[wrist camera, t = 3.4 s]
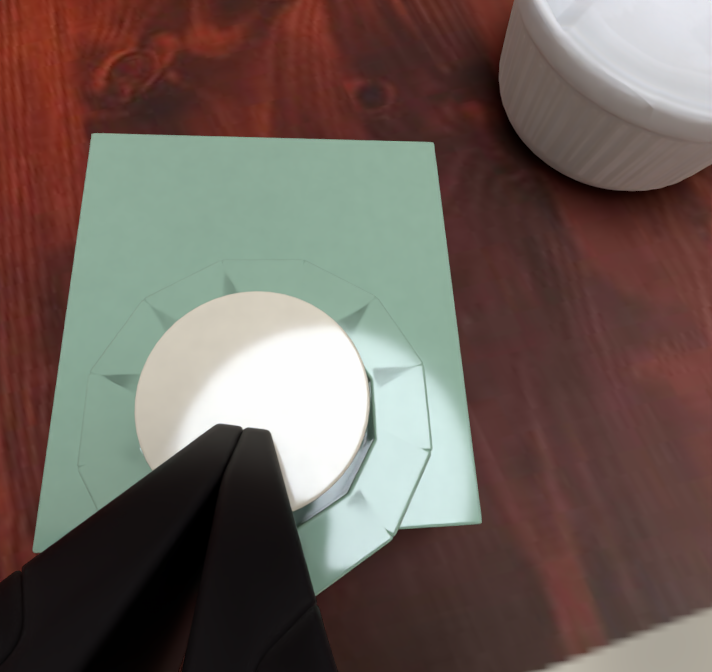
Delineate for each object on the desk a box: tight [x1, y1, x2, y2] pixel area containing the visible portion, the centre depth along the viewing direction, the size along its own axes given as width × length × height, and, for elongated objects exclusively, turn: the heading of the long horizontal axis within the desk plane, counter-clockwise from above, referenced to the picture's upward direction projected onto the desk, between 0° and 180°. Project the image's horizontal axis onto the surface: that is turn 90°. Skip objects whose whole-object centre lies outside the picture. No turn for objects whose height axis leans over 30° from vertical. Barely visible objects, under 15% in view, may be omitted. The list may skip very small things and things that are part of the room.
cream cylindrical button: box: [134, 291, 370, 512], centre depth 10 cm, size 4×4×2 cm
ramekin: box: [499, 0, 712, 191], centre depth 19 cm, size 11×11×5 cm
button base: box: [33, 133, 482, 596], centre depth 13 cm, size 12×10×6 cm
